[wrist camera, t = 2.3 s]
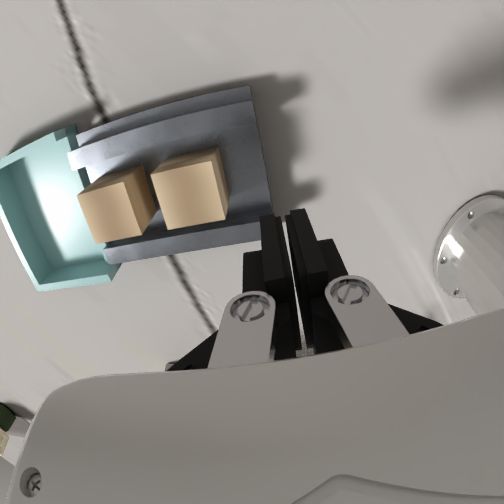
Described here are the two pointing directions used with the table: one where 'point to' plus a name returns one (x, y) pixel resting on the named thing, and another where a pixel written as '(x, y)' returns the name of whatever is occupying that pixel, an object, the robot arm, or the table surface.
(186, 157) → the chip
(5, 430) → the character mug
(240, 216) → the slot rail
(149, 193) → the chip
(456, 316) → the table surface
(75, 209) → the tray
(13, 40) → the table surface
